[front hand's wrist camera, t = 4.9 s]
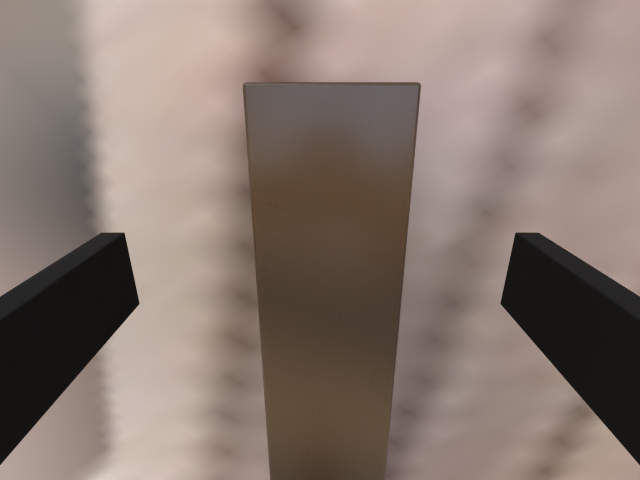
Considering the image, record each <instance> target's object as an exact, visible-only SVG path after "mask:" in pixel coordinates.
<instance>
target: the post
mask: <svg viewBox="0 0 640 480" xmlns="http://www.w3.org/2000/svg"><path fill="white" fill-rule="evenodd" d="M420 90H421V85H420V83H418V82H246V83H244V84H243V96H244V111H245V125H246V139H247V153H248V168H249V182H250V196H251V210H252V225H253V239H254V253H255V268H256V282H257V296H258V310H259V325H260V339H261V353H262V367H263V382H264V396H265V410H266V424H267V439H268V453H269V467H270V480H385V471H386V460H387V450H388V439H389V428H390V417H391V406H392V395H393V384H394V373H395V362H396V352H397V341H398V330H399V319H400V308H401V297H402V286H403V275H404V264H405V254H406V243H407V232H408V221H409V210H410V199H411V188H412V177H413V166H414V156H415V145H416V134H417V123H418V112H419V101H420Z"/></svg>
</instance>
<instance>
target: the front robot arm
mask: <svg viewBox="0 0 640 480" xmlns="http://www.w3.org/2000/svg"><path fill="white" fill-rule="evenodd" d="M138 305H139V299H138V295H137V290H136V285H135V280H134V276H133V271H132V266H131V262H130V257H129V252H128V247H127V243H126V238H125V233H100V234H99V235H97V236H96V237H94V238H92V239H91V240H89V241H88V242H86V243H85V244H83V245H81V246H80V247H78V248H77V249H75V250H73V251H72V252H70V253H69V254H67V255H66V256H64V257H62V258H61V259H59V260H58V261H56V262H54V263H53V264H51V265H50V266H48V267H47V268H45V269H43V270H42V271H40V272H39V273H37V274H35V275H34V276H32V277H31V278H29V279H28V280H26V281H24V282H23V283H21V284H20V285H18V286H16V287H15V288H13V289H12V290H10V291H9V292H7V293H5V294H4V295H2V296H1V297H0V465H1V463H2V462H3V461H4V460H5V459H6V458H7V456H8V455H9V454H10V453H11V452H12V451H13V450H14V448H15V447H16V446H17V445H18V444H19V443H20V441H21V440H22V439H23V438H24V437H25V436H26V435H27V433H28V432H29V431H30V430H31V429H32V428H33V426H34V425H35V424H36V423H37V422H38V421H39V419H40V418H41V417H42V416H43V415H44V414H45V413H46V411H47V410H48V409H49V408H50V407H51V406H52V404H53V403H54V402H55V401H56V400H57V399H58V397H59V396H60V395H61V394H62V393H63V392H64V391H65V389H66V388H67V387H68V386H69V385H70V384H71V382H72V381H73V380H74V379H75V378H76V377H77V375H78V374H79V373H80V372H81V371H82V370H83V369H84V367H85V366H86V365H87V364H88V363H89V362H90V360H91V359H92V358H93V357H94V356H95V355H96V353H97V352H98V351H99V350H100V349H101V348H102V347H103V345H104V344H105V343H106V342H107V341H108V340H109V338H110V337H111V336H112V335H113V334H114V333H115V331H116V330H117V329H118V328H119V327H120V326H121V325H122V323H123V322H124V321H125V320H126V319H127V318H128V316H129V315H130V314H131V313H132V312H133V311H134V310H135V308H136V307H137V306H138ZM501 305H502V306H503V307H504V308H505V310H506V311H507V312H508V313H509V314H510V315H511V316H512V318H513V319H514V320H515V321H516V322H517V323H518V325H519V326H520V327H521V328H522V329H523V330H524V332H525V333H526V334H527V335H528V336H529V337H530V338H531V340H532V341H533V342H534V343H535V344H536V345H537V347H538V348H539V349H540V350H541V351H542V352H543V353H544V355H545V356H546V357H547V358H548V359H549V360H550V362H551V363H552V364H553V365H554V366H555V367H556V369H557V370H558V371H559V372H560V373H561V374H562V375H563V377H564V378H565V379H566V380H567V381H568V382H569V384H570V385H571V386H572V387H573V388H574V389H575V391H576V392H577V393H578V394H579V395H580V396H581V397H582V399H583V400H584V401H585V402H586V403H587V404H588V406H589V407H590V408H591V409H592V410H593V411H594V413H595V414H596V415H597V416H598V417H599V418H600V419H601V421H602V422H603V423H604V424H605V425H606V426H607V428H608V429H609V430H610V431H611V432H612V433H613V435H614V436H615V437H616V438H617V439H618V440H619V441H620V443H621V444H622V445H623V446H624V447H625V448H626V450H627V451H628V452H629V453H630V454H631V455H632V457H633V458H634V459H635V460H636V461H637V462H638V463H639V465H640V297H639V296H638V295H636V294H635V293H633V292H631V291H630V290H628V289H627V288H625V287H624V286H622V285H620V284H619V283H617V282H616V281H614V280H612V279H611V278H609V277H608V276H606V275H605V274H603V273H601V272H600V271H598V270H597V269H595V268H593V267H592V266H590V265H589V264H587V263H586V262H584V261H582V260H581V259H579V258H578V257H576V256H574V255H573V254H571V253H570V252H568V251H567V250H565V249H563V248H562V247H560V246H559V245H557V244H555V243H554V242H552V241H551V240H549V239H548V238H546V237H544V236H543V235H541V234H540V233H515V238H514V243H513V247H512V252H511V257H510V262H509V266H508V271H507V276H506V280H505V285H504V290H503V295H502V299H501Z"/></svg>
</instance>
